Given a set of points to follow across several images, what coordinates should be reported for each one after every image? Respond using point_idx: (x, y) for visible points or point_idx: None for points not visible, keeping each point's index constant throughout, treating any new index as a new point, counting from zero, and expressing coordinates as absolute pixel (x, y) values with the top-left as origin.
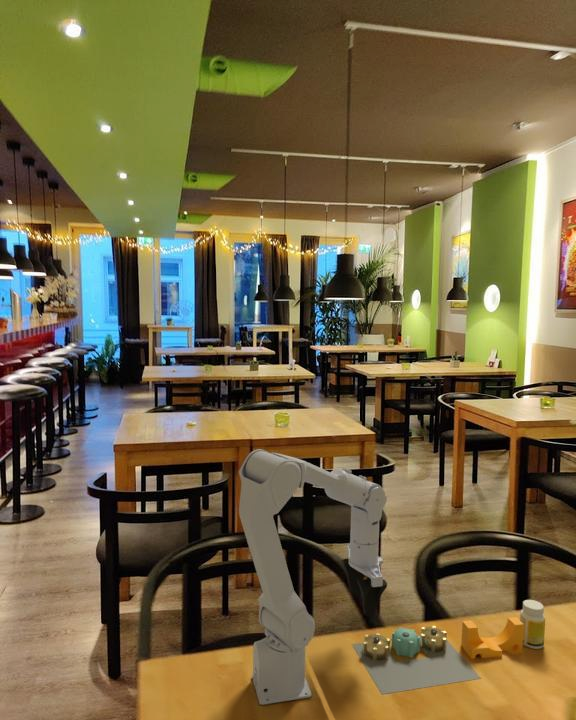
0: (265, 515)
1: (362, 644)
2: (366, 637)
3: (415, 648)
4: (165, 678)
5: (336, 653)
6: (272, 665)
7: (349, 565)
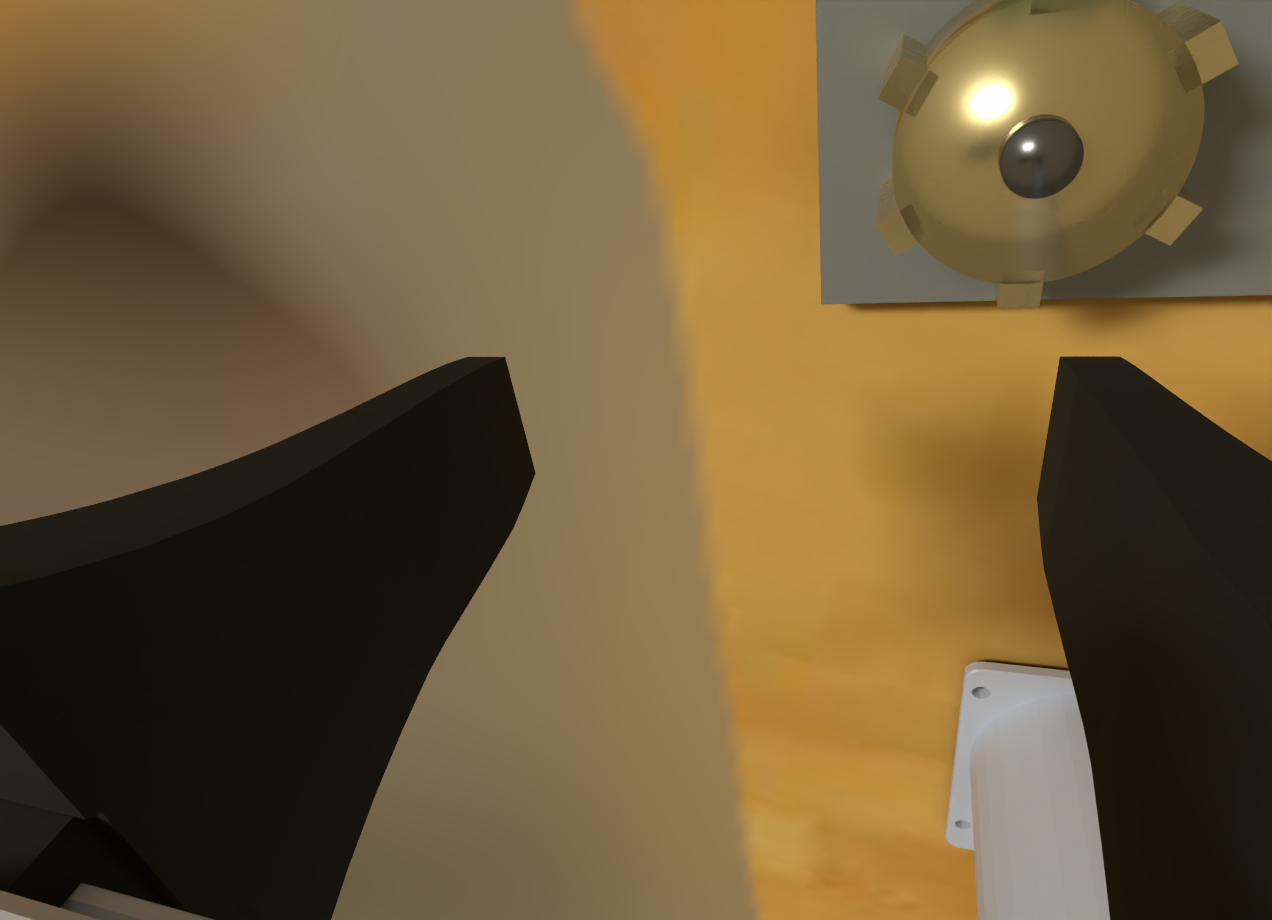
0: None
1: (846, 212)
2: (931, 245)
3: None
4: None
5: (856, 414)
6: None
7: (275, 915)
